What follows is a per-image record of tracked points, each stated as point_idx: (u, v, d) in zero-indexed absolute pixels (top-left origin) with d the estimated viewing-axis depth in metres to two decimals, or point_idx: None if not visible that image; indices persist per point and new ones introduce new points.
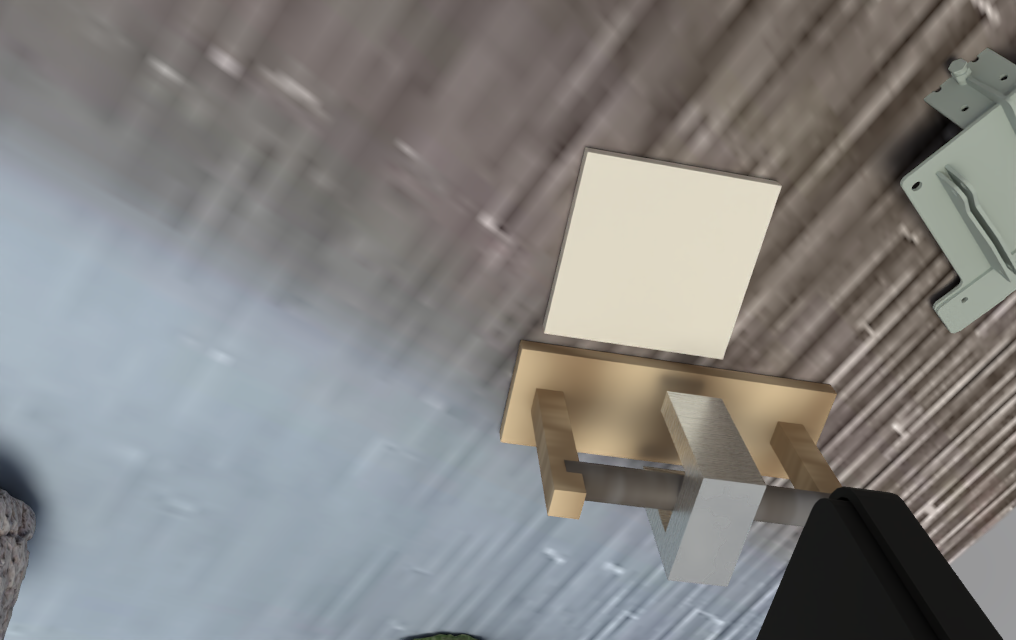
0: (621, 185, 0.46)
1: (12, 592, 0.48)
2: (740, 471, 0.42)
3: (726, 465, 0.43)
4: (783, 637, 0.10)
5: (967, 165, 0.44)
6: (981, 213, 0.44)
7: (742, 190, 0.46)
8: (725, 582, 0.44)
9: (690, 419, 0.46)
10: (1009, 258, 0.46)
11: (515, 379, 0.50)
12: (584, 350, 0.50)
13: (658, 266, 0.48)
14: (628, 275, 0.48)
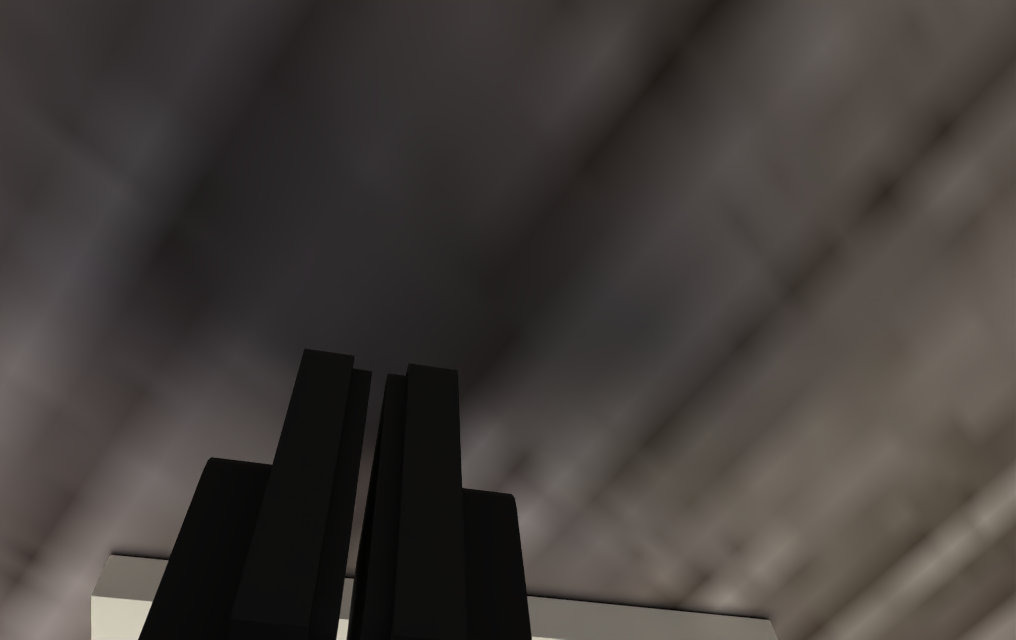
0: None
1: None
2: None
3: None
4: (366, 511, 0.10)
5: None
6: None
7: None
8: None
9: None
10: None
11: None
12: None
13: None
14: None
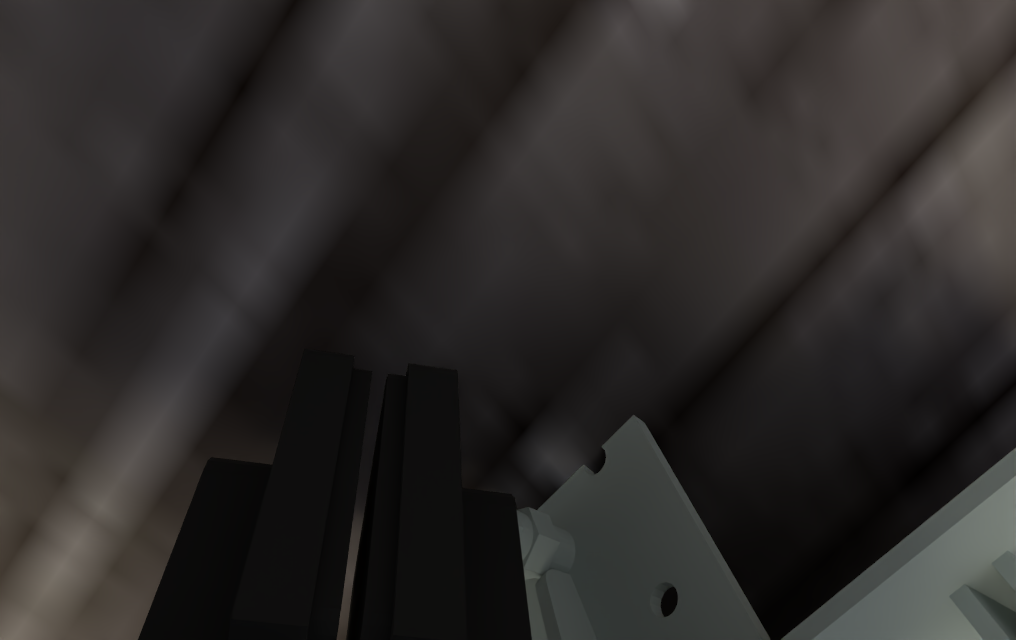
0: None
1: None
2: None
3: None
4: (366, 511, 0.10)
5: None
6: None
7: None
8: None
9: None
10: None
11: None
12: None
13: None
14: None
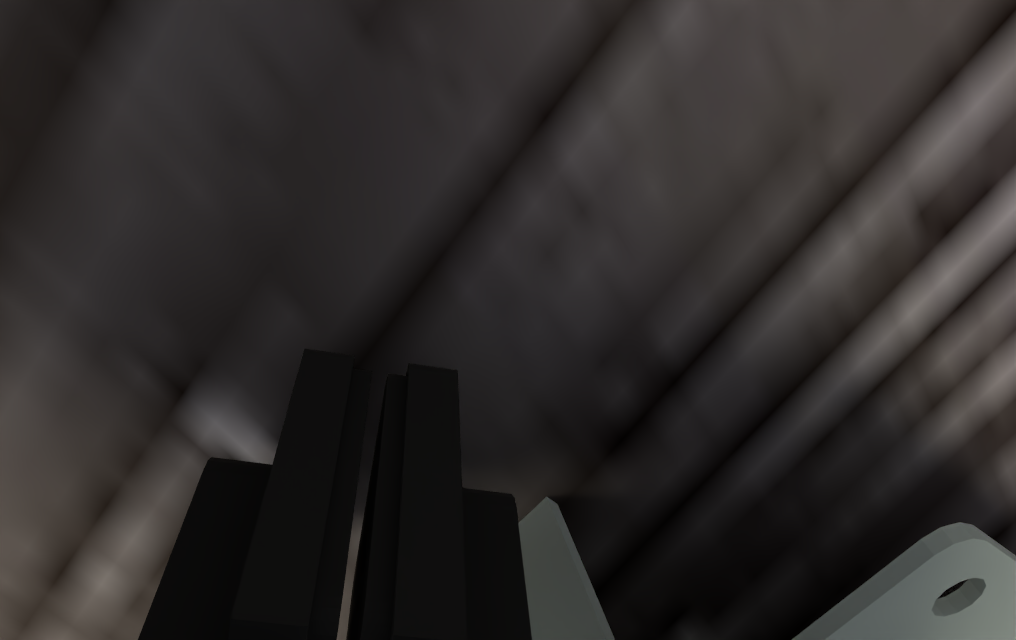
0: None
1: None
2: None
3: None
4: (366, 512, 0.10)
5: None
6: None
7: None
8: None
9: None
10: None
11: None
12: None
13: None
14: None
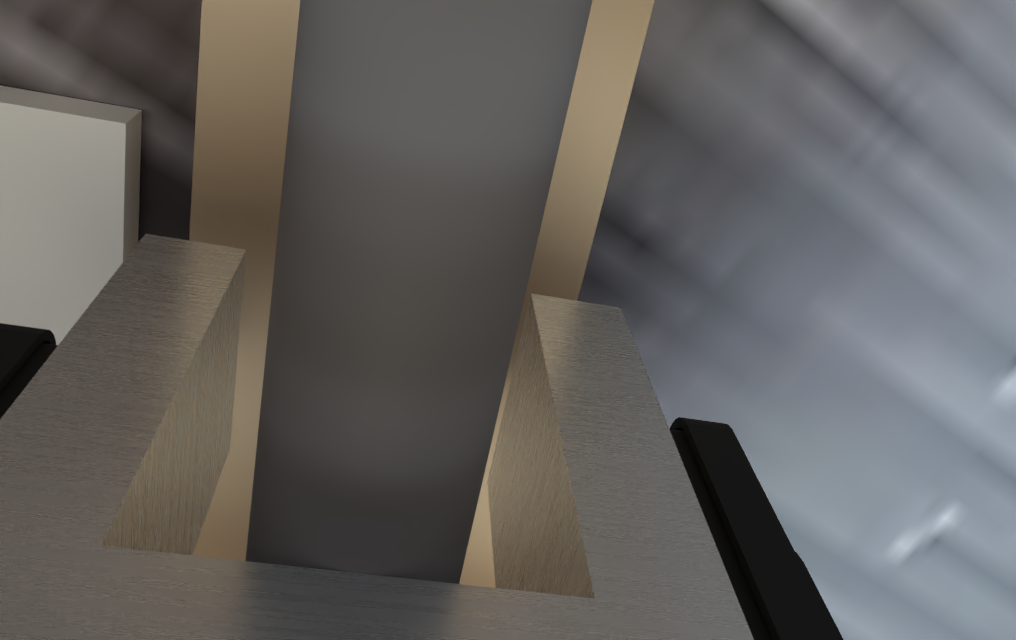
0: None
1: None
2: None
3: None
4: None
5: None
6: None
7: None
8: None
9: None
10: None
11: None
12: None
13: None
14: None
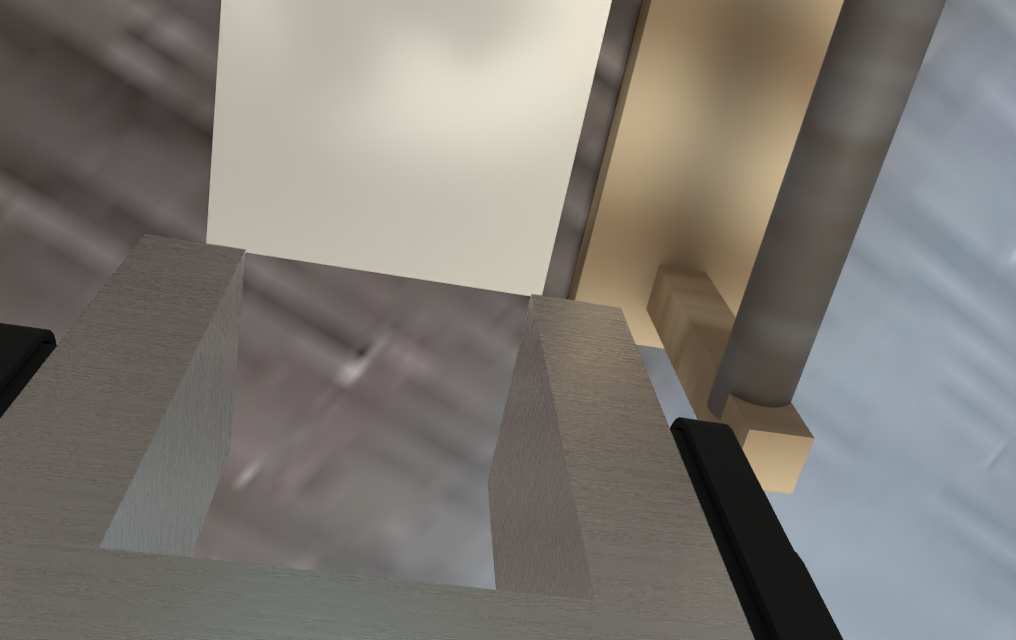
0: (259, 187, 0.26)
1: None
2: None
3: None
4: None
5: None
6: None
7: None
8: None
9: None
10: None
11: None
12: (588, 218, 0.28)
13: (412, 108, 0.25)
14: (431, 163, 0.26)
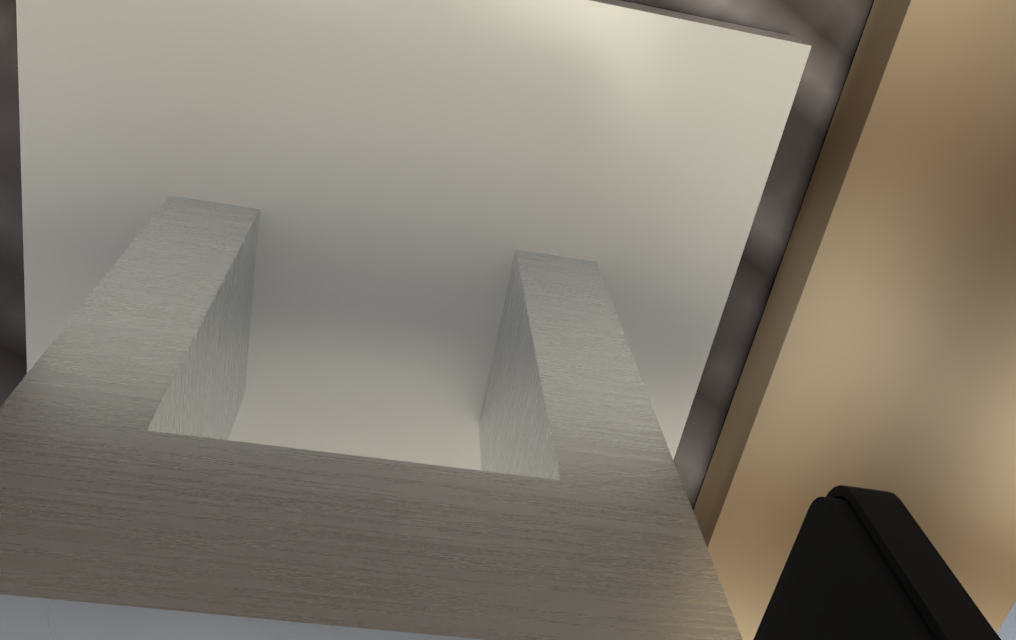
0: None
1: None
2: None
3: None
4: (780, 635, 0.10)
5: None
6: None
7: (63, 52, 0.12)
8: None
9: None
10: None
11: None
12: (707, 481, 0.16)
13: (399, 324, 0.14)
14: (434, 412, 0.14)
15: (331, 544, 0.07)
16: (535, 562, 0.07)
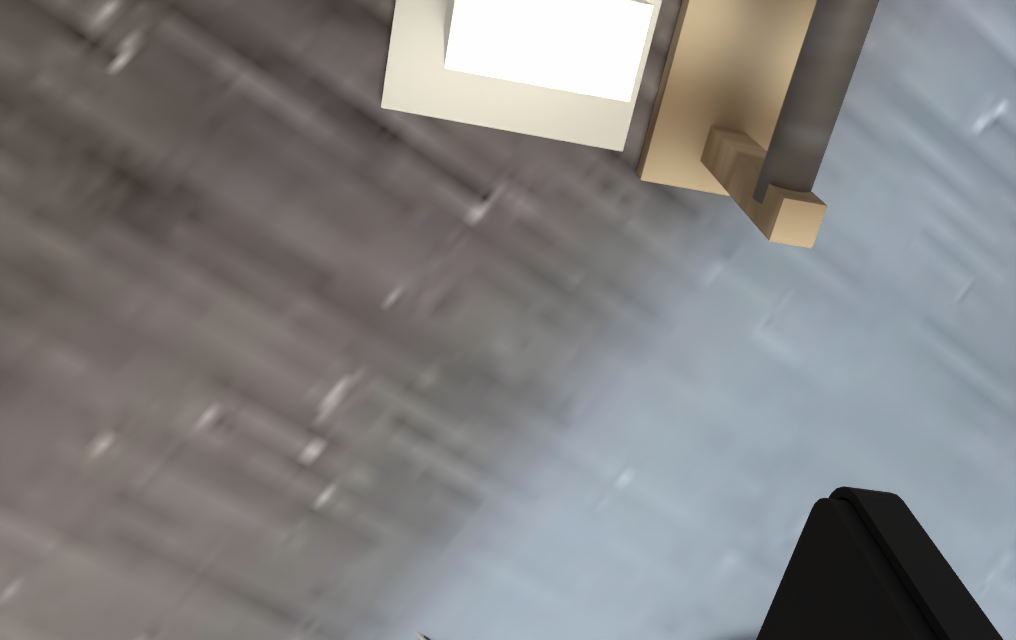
0: (422, 62, 0.36)
1: None
2: None
3: (451, 14, 0.29)
4: (783, 637, 0.10)
5: None
6: None
7: None
8: (644, 9, 0.28)
9: (446, 21, 0.33)
10: None
11: (684, 186, 0.39)
12: (658, 91, 0.38)
13: None
14: None
15: None
16: None
